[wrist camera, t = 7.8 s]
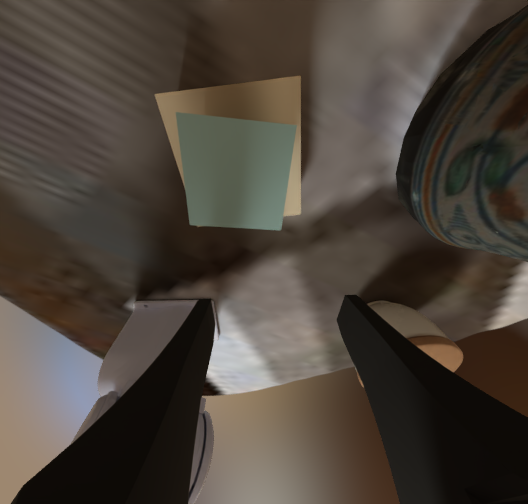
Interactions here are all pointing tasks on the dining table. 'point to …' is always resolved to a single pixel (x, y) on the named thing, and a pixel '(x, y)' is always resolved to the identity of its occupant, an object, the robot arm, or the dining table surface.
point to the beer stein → (474, 147)
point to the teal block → (235, 170)
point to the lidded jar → (419, 333)
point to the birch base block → (243, 116)
